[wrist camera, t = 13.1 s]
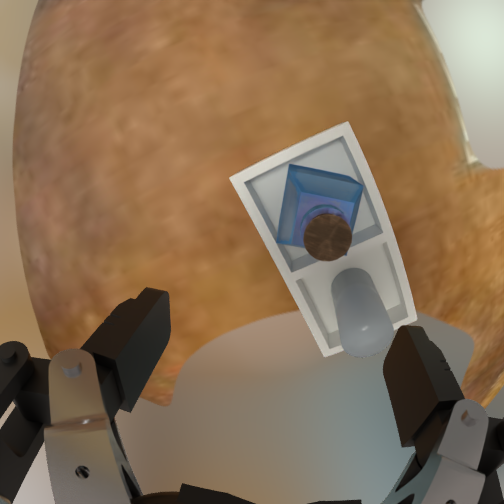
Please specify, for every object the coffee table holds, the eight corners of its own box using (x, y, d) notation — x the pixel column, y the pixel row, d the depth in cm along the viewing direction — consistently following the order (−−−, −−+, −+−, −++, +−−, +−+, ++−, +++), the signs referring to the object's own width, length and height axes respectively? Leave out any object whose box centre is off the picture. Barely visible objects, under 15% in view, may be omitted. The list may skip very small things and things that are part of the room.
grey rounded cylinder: (333, 267, 32) (345, 314, 24) (375, 268, 31) (399, 314, 23) (328, 305, 34) (337, 357, 26) (368, 305, 33) (386, 356, 25)
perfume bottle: (349, 175, 28) (385, 201, 17) (336, 233, 30) (359, 288, 19) (289, 163, 28) (288, 181, 17) (278, 222, 31) (271, 273, 20)
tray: (236, 172, 30) (229, 177, 27) (340, 123, 27) (348, 121, 23) (322, 337, 37) (324, 357, 33) (407, 302, 33) (417, 319, 30)
